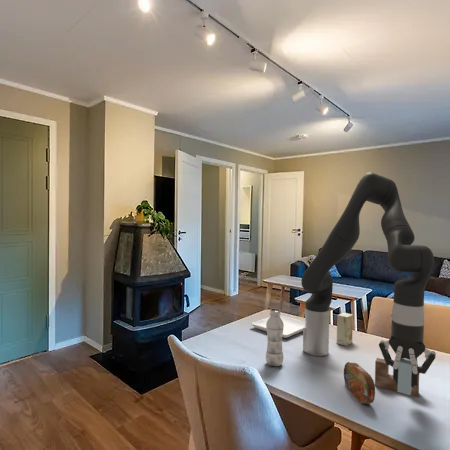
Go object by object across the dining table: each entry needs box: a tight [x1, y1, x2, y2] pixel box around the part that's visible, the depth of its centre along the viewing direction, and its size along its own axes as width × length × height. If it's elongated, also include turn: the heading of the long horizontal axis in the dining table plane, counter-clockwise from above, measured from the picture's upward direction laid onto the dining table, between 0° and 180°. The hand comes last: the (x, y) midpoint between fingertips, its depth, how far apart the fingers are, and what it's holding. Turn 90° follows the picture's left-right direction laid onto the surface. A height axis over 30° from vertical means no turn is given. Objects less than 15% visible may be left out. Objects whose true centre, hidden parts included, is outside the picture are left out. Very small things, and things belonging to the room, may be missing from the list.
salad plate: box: [251, 314, 305, 339], centre depth 158 cm, size 21×21×3 cm
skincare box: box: [336, 312, 354, 346], centre depth 141 cm, size 6×4×12 cm
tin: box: [343, 361, 376, 405], centre depth 100 cm, size 15×3×8 cm, turn 5°
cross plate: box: [396, 358, 412, 396], centre depth 92 cm, size 14×3×8 cm, turn 146°
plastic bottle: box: [265, 308, 284, 367], centre depth 120 cm, size 6×7×20 cm
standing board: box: [374, 357, 420, 398], centre depth 104 cm, size 12×3×8 cm, turn 57°
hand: (404, 383), depth 88 cm, fingers closed on cross plate, 3 cm apart
